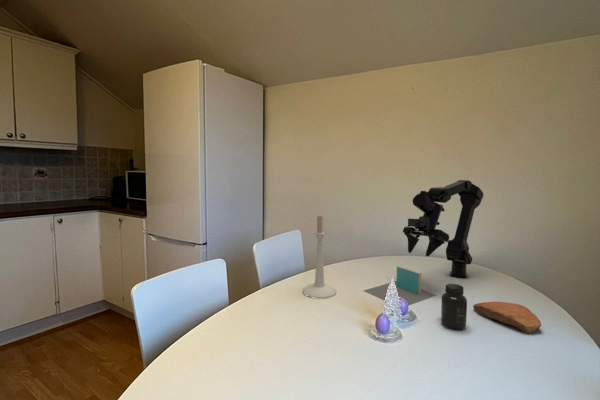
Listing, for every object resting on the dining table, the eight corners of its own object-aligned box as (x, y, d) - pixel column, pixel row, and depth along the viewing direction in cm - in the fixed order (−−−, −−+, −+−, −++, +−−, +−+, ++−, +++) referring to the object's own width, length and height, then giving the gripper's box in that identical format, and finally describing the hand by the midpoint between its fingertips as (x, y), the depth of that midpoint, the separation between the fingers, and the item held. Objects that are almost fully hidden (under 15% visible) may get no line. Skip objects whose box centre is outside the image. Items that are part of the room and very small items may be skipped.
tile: (398, 285, 124) (399, 266, 124) (420, 293, 116) (421, 273, 115) (396, 286, 123) (396, 266, 123) (418, 294, 115) (418, 273, 114)
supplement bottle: (463, 321, 96) (465, 283, 95) (467, 332, 90) (470, 292, 88) (439, 318, 98) (441, 281, 97) (441, 328, 92) (443, 289, 91)
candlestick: (297, 295, 116) (297, 215, 113) (309, 284, 128) (309, 211, 125) (330, 301, 111) (331, 217, 108) (340, 288, 123) (340, 212, 120)
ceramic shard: (495, 315, 89) (471, 301, 104) (498, 338, 89) (474, 320, 104) (549, 310, 88) (518, 296, 103) (553, 334, 87) (521, 316, 102)
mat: (398, 281, 130) (398, 280, 130) (437, 296, 115) (437, 295, 115) (362, 291, 119) (362, 290, 119) (401, 309, 104) (401, 308, 104)
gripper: (399, 208, 128) (386, 243, 126) (435, 208, 111) (421, 249, 108) (418, 219, 132) (406, 253, 130) (456, 221, 115) (442, 261, 112)
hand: (417, 254), depth 120 cm, fingers open, 9 cm apart
